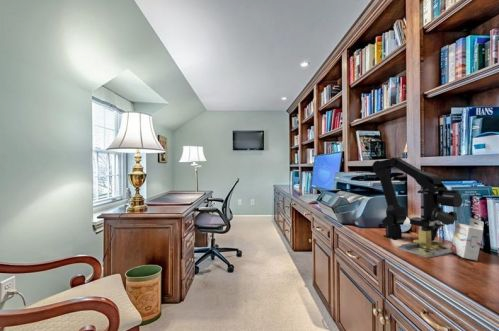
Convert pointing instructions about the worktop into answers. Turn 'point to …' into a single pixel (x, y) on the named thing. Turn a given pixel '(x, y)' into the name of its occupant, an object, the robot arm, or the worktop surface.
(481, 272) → the worktop surface
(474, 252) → the ink cartridge box
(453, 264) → the worktop surface
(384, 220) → the robot arm
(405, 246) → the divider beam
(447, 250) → the flange plate
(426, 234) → the slider
